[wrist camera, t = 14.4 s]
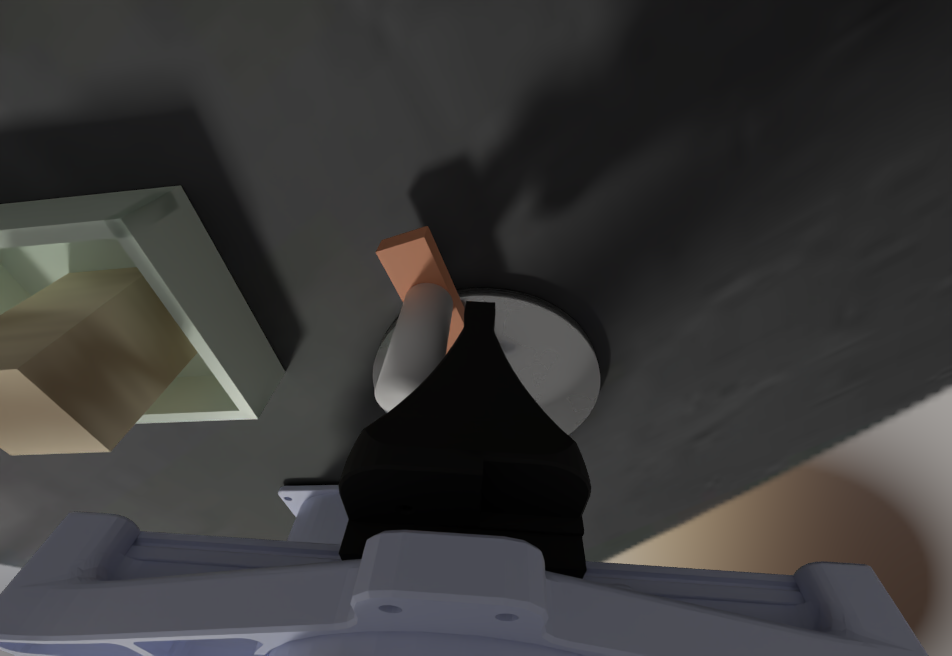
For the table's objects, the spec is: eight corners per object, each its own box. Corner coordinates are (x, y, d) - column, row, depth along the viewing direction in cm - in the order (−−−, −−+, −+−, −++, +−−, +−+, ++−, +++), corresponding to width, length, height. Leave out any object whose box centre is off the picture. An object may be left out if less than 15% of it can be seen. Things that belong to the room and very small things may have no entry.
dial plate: (590, 442, 23) (593, 457, 22) (403, 448, 24) (400, 462, 24) (606, 278, 16) (612, 291, 16) (347, 296, 18) (340, 309, 17)
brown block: (207, 340, 19) (110, 451, 14) (130, 346, 19) (10, 455, 14) (155, 265, 16) (16, 369, 12) (68, 273, 17) (-101, 376, 12)
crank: (530, 411, 20) (539, 527, 16) (462, 423, 21) (453, 537, 16) (452, 214, 14) (430, 313, 9) (361, 243, 15) (301, 347, 10)
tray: (285, 372, 21) (258, 418, 18) (117, 380, 22) (70, 426, 19) (181, 185, 15) (120, 218, 12) (-44, 208, 16) (-139, 243, 13)
